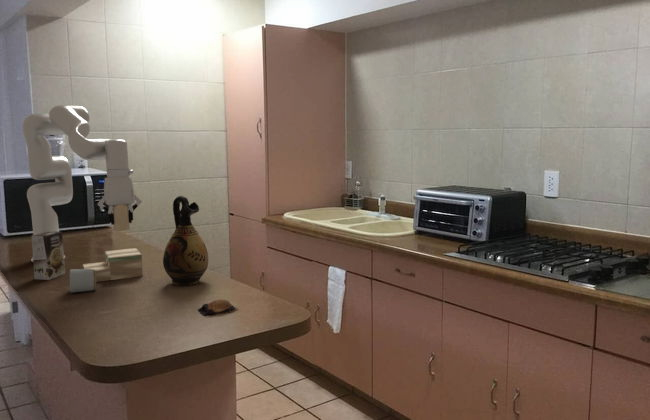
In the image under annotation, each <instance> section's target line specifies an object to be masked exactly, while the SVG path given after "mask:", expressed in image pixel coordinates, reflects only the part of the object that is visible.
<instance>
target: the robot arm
mask: <svg viewBox="0 0 650 420" xmlns="http://www.w3.org/2000/svg"><path fill="white" fill-rule="evenodd" d="M89 122H90V114H89V112H88V110H87V108H85V107H83V106H81V105H76V104H75V105H73V104H72V105H71V104H60V105H58V104H57V105H55V106H53V107H52V108H51V109H50V110H49V112H48V113H47V112H43V113H42V112H39V113H38V112H36V113H31V114H29V115H27V116H26V117H25V118H24V119H23V122H22V134H23V137H24V140H25V142H26V147H27V160H28V169H29V170H28V171H29V175H30V177H31V178H32V179H33V180H36V181H46V180H47V181H48V180H54V182H42V183H36V184H33V185H31V186H29V188H27V191H26V198H27V202H28V204H29V209H30V213H31V223H32V235H36V234H40V233H44V232H60V230H59V229H60V226H59V217H58V214H57V212H56V211H55V210H54V208H53V206H61V205H66V204H68V203H70V202H71V201H72V200H73V196H74V188H73V176H72V166H71V163H70V161H69V160H68V158H67V157H66V156H63V155H52V146H51V143H50V142H49V140H48V139H47V137H46V136H48V135H49V136H60V135H61V136H63V135H65V136H68V137H67V141H68V146H69V147H70V149H71V151H72V152H73V153H75V154H76V156H79V158H81V159H83V160H86V161H98V160H100V161H102V160H105V165H106V177H104V180H103V181H104V183H103V197H102V198H101V199H100V200H99V201H98V203H97V206H98V207H99V208H101V209H102V210H104V211H105V212H106V213H107V214H108V223H110V225H111V226H112V225H113V224H114V218H113V212H112V209H113V206H116V205H128V210H129V224H132V223H133V221H134V211H135V210H136V209H137V207H139V206H140V205H141V204H142V200H141V199H140V198H139V197H138V196H137V195H136V194H135V190H134V183H133V179H132V177H131V176H130V175H134V170H133V169H129V155H128V153H129V152H128V143H127V140H126V139H111V138H87V137H88V135H89V133H90V131H91V126H90V124H89ZM104 203H105V205H107V206H105V205H104ZM132 204H133V205H132ZM65 258H66V255H65V254H64V259H65ZM30 260H31V263H33V257H32V258H30Z"/></svg>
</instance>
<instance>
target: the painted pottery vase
mask: <svg viewBox="0 0 650 420" xmlns="http://www.w3.org/2000/svg"><path fill="white" fill-rule="evenodd" d="M180 207H181V209H180ZM199 211H200V207H199V205H198V204H197V202H195V201H193V202H192V203H190V202H189V199H188V198H187V197H186V196H183V195H179V196H176V197H175V199H174V200H173V201H172V212H173V218H174V224H175V231H174V232H173V233H171V236H170V237H169V239H168V242H167V243H166V244H165V245H166V246H165V249H164V251H163V257H162V258H163V259H162V265H163V269H164V271H165V273H166V274H167V276H168V277H169V278H170V279H171V282H172V284H173V285H175V286H177V287H182V286H183V287H184V286H185V287H187V286H188V287H189V286H194V285H196V284H199V283H200V280H201V278H202V277H203V276H204V274H205V273H206V271H207V269H208V268H209V266H208V265H209V254H208V249H207V247H206V244H205V242H204V240H203V238H202V237H201V234H200V233H199V232H198V230H197V229H196V228H195V226H194V225H193V223H192V221H191V220H192V218H191V216H192V215H195V214H196V213H198V212H199Z"/></svg>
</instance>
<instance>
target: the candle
mask: <svg viewBox="0 0 650 420" xmlns="http://www.w3.org/2000/svg"><path fill="white" fill-rule="evenodd" d="M112 213H113V218H114V224H113V230H114V231H116V232H118V231H119V232H121V231H122V232H123V231H128V230H130V223H129V208H128V205H116V206H113V209H112Z"/></svg>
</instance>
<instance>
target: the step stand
mask: <svg viewBox="0 0 650 420" xmlns="http://www.w3.org/2000/svg"><path fill="white" fill-rule="evenodd" d="M104 256H105V261H100V262H90V263H89V262H88V263H82V269H94V270H95V271H96V283H97V282H105V281H113V280H123V279H129V278H138V277H143V275H144V274H143V271H144V270H143V257H142V253H141V252H140V251H139V249H137V248H136V247H133V248H123V249H115V250H114V249H112V250H105V251H104Z"/></svg>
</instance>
